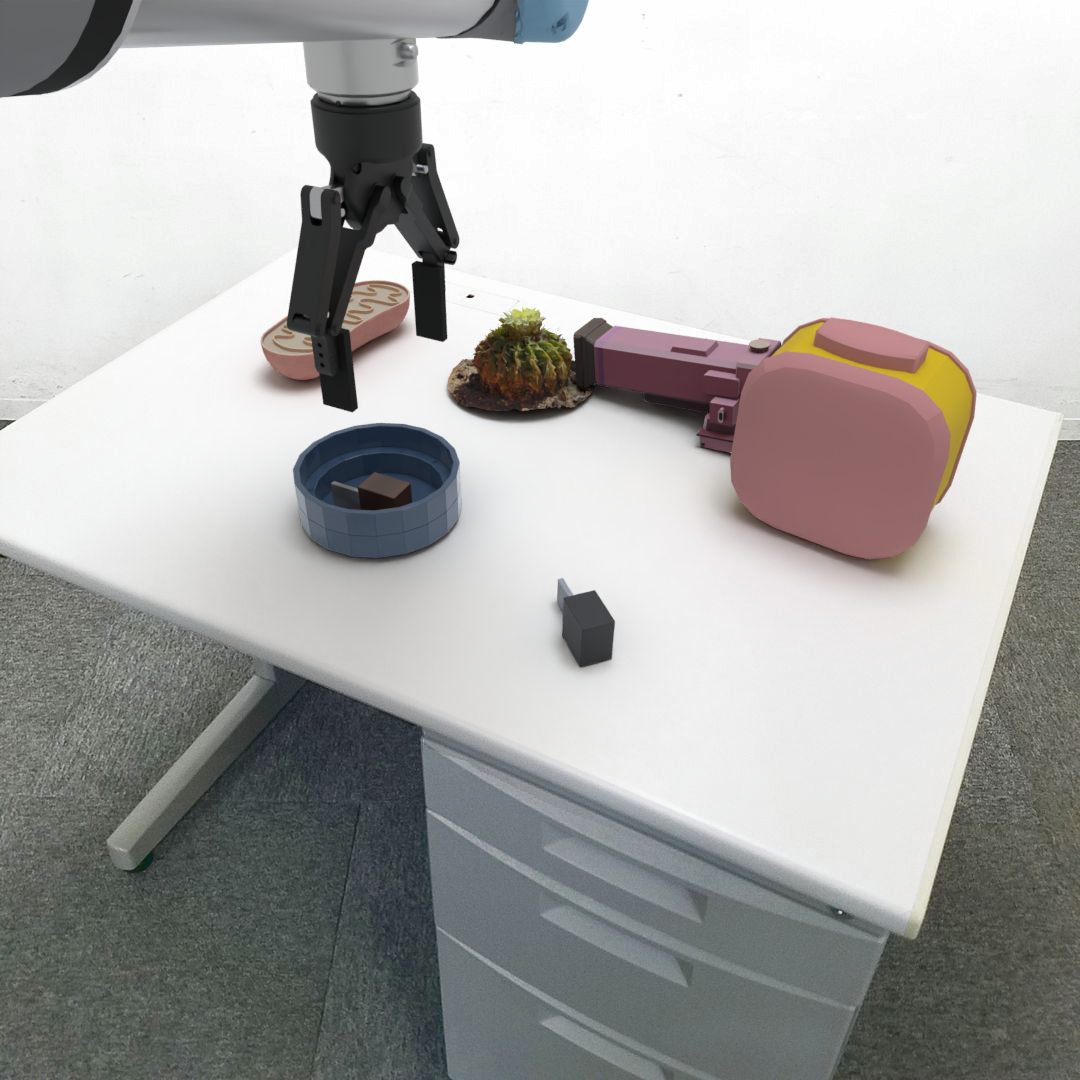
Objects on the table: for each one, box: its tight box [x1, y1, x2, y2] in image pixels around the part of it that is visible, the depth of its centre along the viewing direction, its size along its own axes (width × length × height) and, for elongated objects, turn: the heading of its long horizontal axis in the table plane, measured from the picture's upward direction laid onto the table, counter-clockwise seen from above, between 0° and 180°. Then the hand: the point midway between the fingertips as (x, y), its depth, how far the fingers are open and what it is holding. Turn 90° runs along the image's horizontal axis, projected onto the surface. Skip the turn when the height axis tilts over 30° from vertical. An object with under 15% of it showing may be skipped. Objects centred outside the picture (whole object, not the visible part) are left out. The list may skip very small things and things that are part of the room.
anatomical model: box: [259, 279, 411, 381], centre depth 117 cm, size 23×10×5 cm, turn 151°
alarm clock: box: [729, 317, 977, 560], centre depth 87 cm, size 18×11×19 cm, turn 56°
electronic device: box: [572, 317, 782, 454], centre depth 105 cm, size 11×27×10 cm, turn 59°
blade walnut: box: [331, 472, 412, 510], centre depth 90 cm, size 8×3×4 cm, turn 64°
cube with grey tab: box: [556, 577, 616, 668], centre depth 79 cm, size 8×3×4 cm, turn 21°
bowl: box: [292, 422, 462, 559], centre depth 91 cm, size 15×15×6 cm
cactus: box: [447, 307, 595, 412], centre depth 110 cm, size 17×16×10 cm
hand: (389, 370), depth 79 cm, fingers open, 13 cm apart
